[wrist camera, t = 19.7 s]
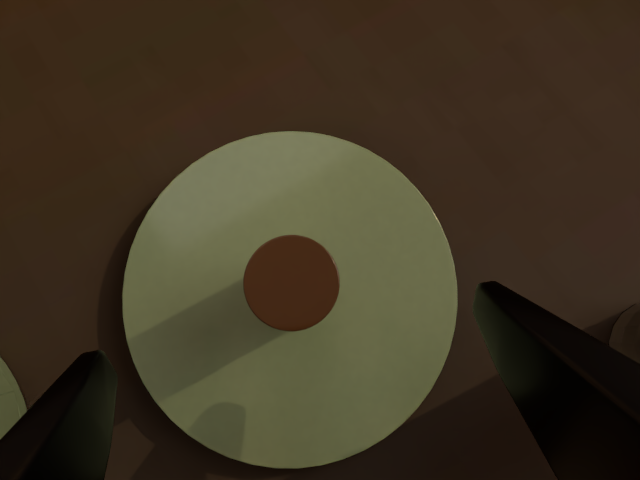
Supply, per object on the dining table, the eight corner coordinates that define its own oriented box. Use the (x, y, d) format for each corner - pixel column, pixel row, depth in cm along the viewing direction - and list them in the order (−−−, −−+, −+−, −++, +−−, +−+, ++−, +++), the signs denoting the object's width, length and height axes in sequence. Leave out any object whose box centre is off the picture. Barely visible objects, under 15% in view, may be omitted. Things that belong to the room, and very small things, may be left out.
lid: (470, 180, 18) (557, 118, 12) (416, 490, 16) (487, 603, 10) (184, 111, 18) (127, 12, 12) (90, 416, 16) (-37, 485, 10)
